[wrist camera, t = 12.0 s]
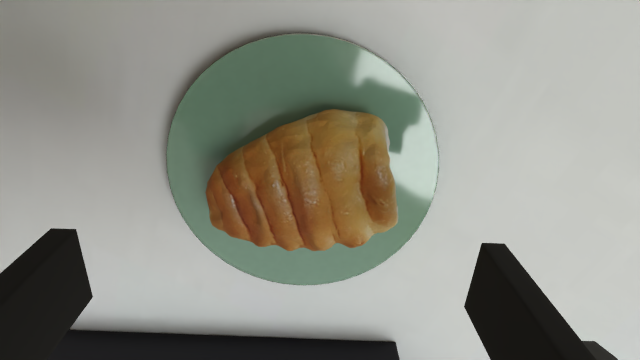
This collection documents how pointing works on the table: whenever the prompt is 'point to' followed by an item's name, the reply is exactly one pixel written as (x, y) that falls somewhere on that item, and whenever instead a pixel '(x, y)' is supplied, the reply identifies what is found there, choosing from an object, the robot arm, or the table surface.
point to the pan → (212, 347)
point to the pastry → (308, 184)
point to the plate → (285, 107)
